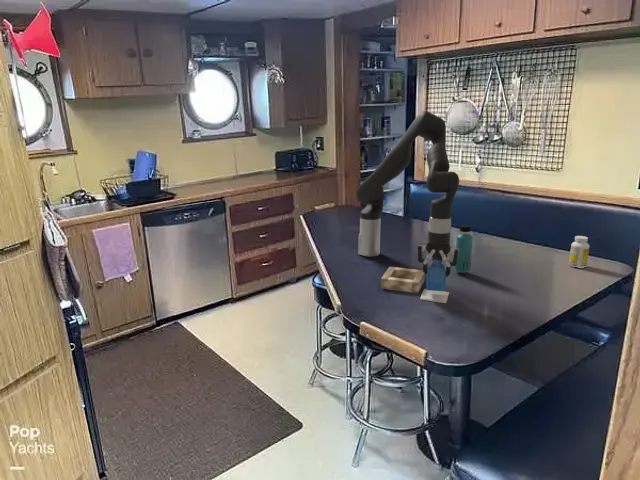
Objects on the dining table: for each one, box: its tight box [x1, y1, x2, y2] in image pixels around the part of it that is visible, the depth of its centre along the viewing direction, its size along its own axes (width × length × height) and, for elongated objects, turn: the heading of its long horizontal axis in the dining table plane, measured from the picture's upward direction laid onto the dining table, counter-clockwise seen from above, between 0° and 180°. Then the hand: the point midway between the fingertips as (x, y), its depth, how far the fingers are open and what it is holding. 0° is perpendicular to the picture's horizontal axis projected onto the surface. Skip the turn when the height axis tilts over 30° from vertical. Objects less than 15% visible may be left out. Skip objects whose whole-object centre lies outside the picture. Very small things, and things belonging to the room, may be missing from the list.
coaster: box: [419, 288, 450, 304], centre depth 166 cm, size 9×9×1 cm
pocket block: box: [380, 266, 426, 294], centre depth 177 cm, size 14×14×4 cm
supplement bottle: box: [568, 235, 590, 267], centre depth 194 cm, size 7×7×13 cm
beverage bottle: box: [453, 224, 473, 273], centre depth 186 cm, size 6×7×20 cm
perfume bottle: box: [425, 256, 447, 292], centre depth 163 cm, size 6×6×12 cm
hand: (436, 274), depth 164 cm, fingers closed on perfume bottle, 6 cm apart
